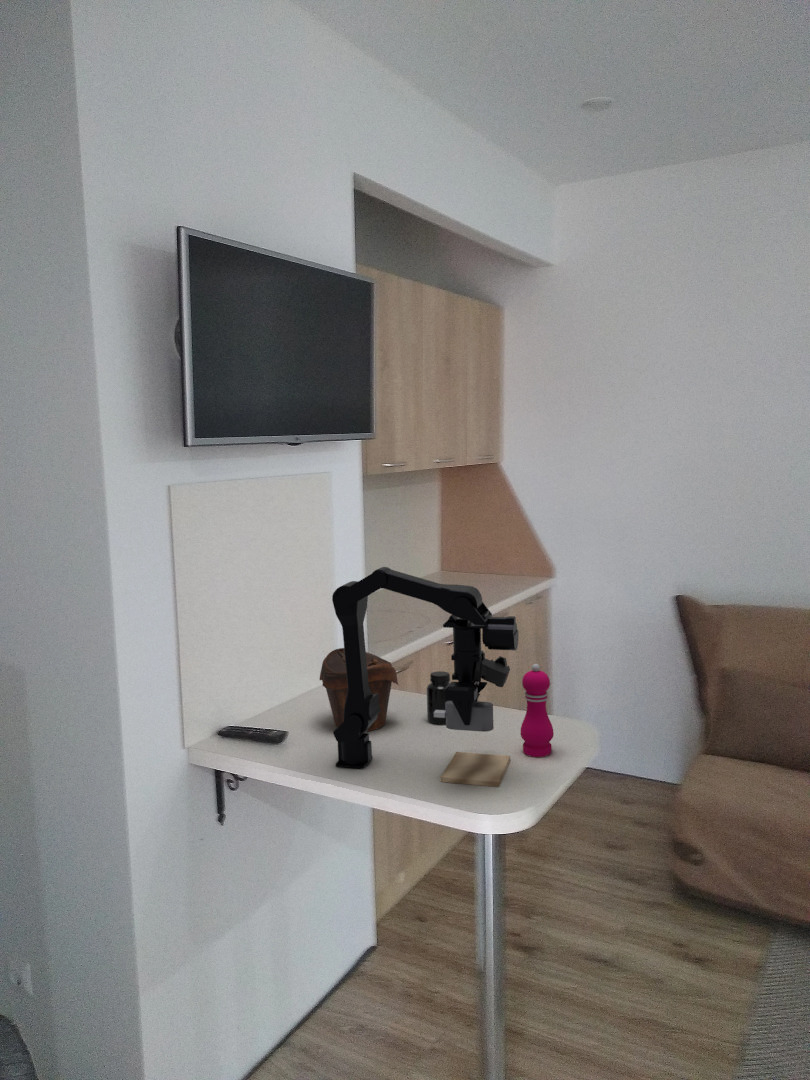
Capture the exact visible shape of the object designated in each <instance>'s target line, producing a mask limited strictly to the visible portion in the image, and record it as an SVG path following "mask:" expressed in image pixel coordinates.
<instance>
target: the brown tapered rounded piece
mask: <svg viewBox="0 0 810 1080" xmlns="http://www.w3.org/2000/svg"><path fill="white" fill-rule="evenodd" d="M366 661H367V672H368V683H369V688H370V690H371V692H372V694H377V693H378V694H379V707H380V709H381V711H380V712H379V713H378V717H377V719H376V720H375V721H374V722H373V723H372V724H371V725H370V728H369V730H367V731H366V732H371V731H375V730H377V729H380V728H381V727H383V726H384V725H385V723H386V721H387V716H388V714H387V713H388V707H389V701H390V695H391V690H392V684H396V685H399V681H398V675H397V670H396V668H395V667H394V666H392V665H393V664H392V663H391V662H389V661H388V660H386V659H384V658H383V657H380V656H378V655H376V654H373V653H370V652H368V651H366ZM319 681H321V682H322V687H323V688H325V689H326V690H325V691H326V693H327V698H328V701H329V706H330V710H331V713H332V717H333V718H332V719H333V722H334V726H335V727H336V729H337V728H338V727H339V726H340V725H341V724H342V723H343V716H344V705H345V701H346V697H347V693H348V685H347V674H346V663H345V651H344V647H340V648H336V649H333V650H331V651H330V652H329V653H328V654H327V655H326V656H325V657H324V659H323V661H322V664H321V669H320V673H319Z"/></svg>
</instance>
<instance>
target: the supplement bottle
mask: <svg viewBox="0 0 810 1080" xmlns="http://www.w3.org/2000/svg"><path fill="white" fill-rule="evenodd" d="M450 676H451V674H450V673H449V672H448V671H444V670H443V671H440V670H439V671H433V672H431V673H430V677H429V678H430V679H429V682H430V683H429V684H428V685H427V687H426V711H427V712H426V715H427V721H428V722H429V723H431V724H432V725H433V724H434V725H446V717H445V718H439V717H434V712H435V710H446V709H445V703H446V702H447V701H446V700H444V692H443V691H444V689H445V688H446V687H447V686H448V685H449V684H450V683H451V678H450Z"/></svg>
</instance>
